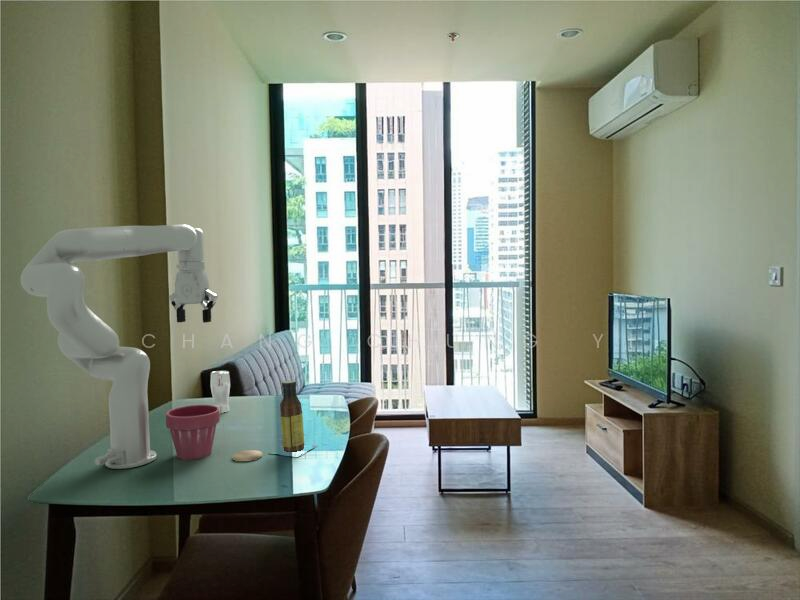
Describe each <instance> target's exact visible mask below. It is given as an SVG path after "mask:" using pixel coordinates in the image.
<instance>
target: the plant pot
mask: <svg viewBox="0 0 800 600" xmlns="http://www.w3.org/2000/svg"><path fill="white" fill-rule="evenodd" d="M220 416H221V414H220V412H219V408H218V407H216V406H214V404H213V405H212V404H191V405H185V406H180V407H174V408H171V409H169V410H168V411H167V412H166V413H165V426H166V428H167V429H169V432H170V435H171V438H172V439H171V440H172V442H173V446H174V451H175V454H176V457H177V458H178V459H179V460H184V461H193V459H194V460H199V459H198V458H200V459H202V457H203V458H206V457H208V456H210V455H211V454H212V452H213V451H212V449H213V444H214V440H215V435H216V428H217V425H218V424H219V423H220V420H221V419H220V418H221V417H220ZM210 453H211V454H210ZM209 454H210V455H209ZM207 455H208V456H207ZM205 456H206V457H205Z"/></svg>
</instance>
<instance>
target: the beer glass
mask: <svg viewBox="0 0 800 600" xmlns="http://www.w3.org/2000/svg"><path fill="white" fill-rule="evenodd" d="M230 389H231V377H230V371H229V370H216V371H215V370H214V371H211V372H210V390H211V395H212V401H213V406H216V407H218V408H219V412H220V413H222V414H224V413H223V412H227V411H229V412H230V411H231V408H230V404H229V399H230V393H231V392H230ZM227 413H228V412H227Z"/></svg>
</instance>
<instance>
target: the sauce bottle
mask: <svg viewBox="0 0 800 600" xmlns="http://www.w3.org/2000/svg"><path fill="white" fill-rule="evenodd" d="M297 384H298V383H297V381H296V379H295V380H294V379H292V380H291V379H290V380H284V381H282V382H281V387H282V392H283V394H282V395H283V396H282V400H281V402H280V404H279V411H280V416H279V417H280V428H281V429H280V430H281V443H282V444H281V445H282V446H283V449H284V451H286V452H297V451H301V450H303V449H304V445H305V429H304V419H303V410H302V403H301V402H300V399H299V397H298V394H297Z"/></svg>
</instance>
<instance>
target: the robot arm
mask: <svg viewBox="0 0 800 600" xmlns="http://www.w3.org/2000/svg"><path fill="white" fill-rule="evenodd" d="M204 243H205V242H204V231H203V230H202V229H201V228H198V227H192V226H190V225H189V224H185V223H183V224H181V223H180V224H166V225H165V224H164V225H120V226H117V225H116V226H104V227H103V226H99V227H98V226H97V227H86V228H85V227H84V228H72V229H64V230H61V231H59V232H57V233H56V234H54V235H53V236H52V237H51V238H50V239H49V240H48V241H47V242H46V243H45V244H44V245H43V246H42V247H41V249H40V250H39V251H38V252H37V253H36V254H35V256H33V258H32V259H31V260H30V261H29V262H28V263H27V264H26V266H25V267H24V269H23V270H22V272H21V274H20V285H21V287H22V288H23V290H24V291H25V292H27V294H29V295H30V296H31V295H32V296H34V297H37V298H39V297H40V298H46V312H47V317H48V320H49V323H50V324H51V326H53V327H54V329H55V330H57V331H58V332H59V333H58V335H57V346H58V348H59V350H60V352H61V353H62V354H63V355H64V356H65V357H66V358H67V359H69V360H70V361H71V362H73V363H74V364H75V365H76V366H78V368H80V369H82V370H83V371H84V372H86V373H87V375H90V376H91V377H93V378H95V379H97V380H101V381H108V382H109V381H111V382H112V385H111V388H110V392H109V394H108V414H109V431H110V436H109V438H110V448H107V453H105V455H100V456H98V457H96V458H95V459H94V463H95V465H96V466H99V465H102V464H105V465H104V466H105V467H107V468H109V469H114V470H115V469H116V470H117V469H118V470H121V469H131V468H137V467H141V466H143V465H147V464H149V463H152V462H153V461H154V460H156V458H157V452H156V451H154V450H152V449H151V444H150V443H151V440H150V421H149V417H150V415H149V399H148V387H149V386H148V385H149V384H148V382H149V377H150V371H151V370H150V369H151V361H150V358H149V356H148V354H147V353H146V352H145V351H143V350H142V349H140V348H137V347H132V346H120V339H119V335H118V334H117V333H116V331H114V329H113V328H112V327H110V326H109V325H108V324H107V323H105V322H104V321H103V320H102V319H101V318H100V317H99V316H97V315H96V313H94V312H93V311H92V310H91V309H90V308H89V307H88V306H87V304H86V302H85V298H84V291H85V283H86V281H85V276H84V273H83V270H81V268H80V267H79V266H78V265H76V264H74V263H78V262H79V263H80V262H96V261H105V260H113V259H124V258H133V257H140V256H141V257H142V256H147V255H153V254H159V253H160V254H161V253H169V252H177V255H178V258H177V259H178V262H177V263H178V264H176V268H177V269H178V271H177V272H176V275H175V279H174V280H175V282H174V292H173V293H171V294H170V295H169V296H168V298H169V301H170V302H171V305H172V307H173V309H174V310H175V311H176V322H177V323H185V322H186V309H185V306H186V305H197V304H200V305H201V306H202V308H203V309H202V323H206V324H207V323H211V322H212V309H213V308H214V306H215V304H216V302H217V299H218V295H217V294H216V293H214V292H212V291H211V290H210V285H209V278H208V273H207V271H205V267H206V266H205V249H204V248H205V247H204Z"/></svg>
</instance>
